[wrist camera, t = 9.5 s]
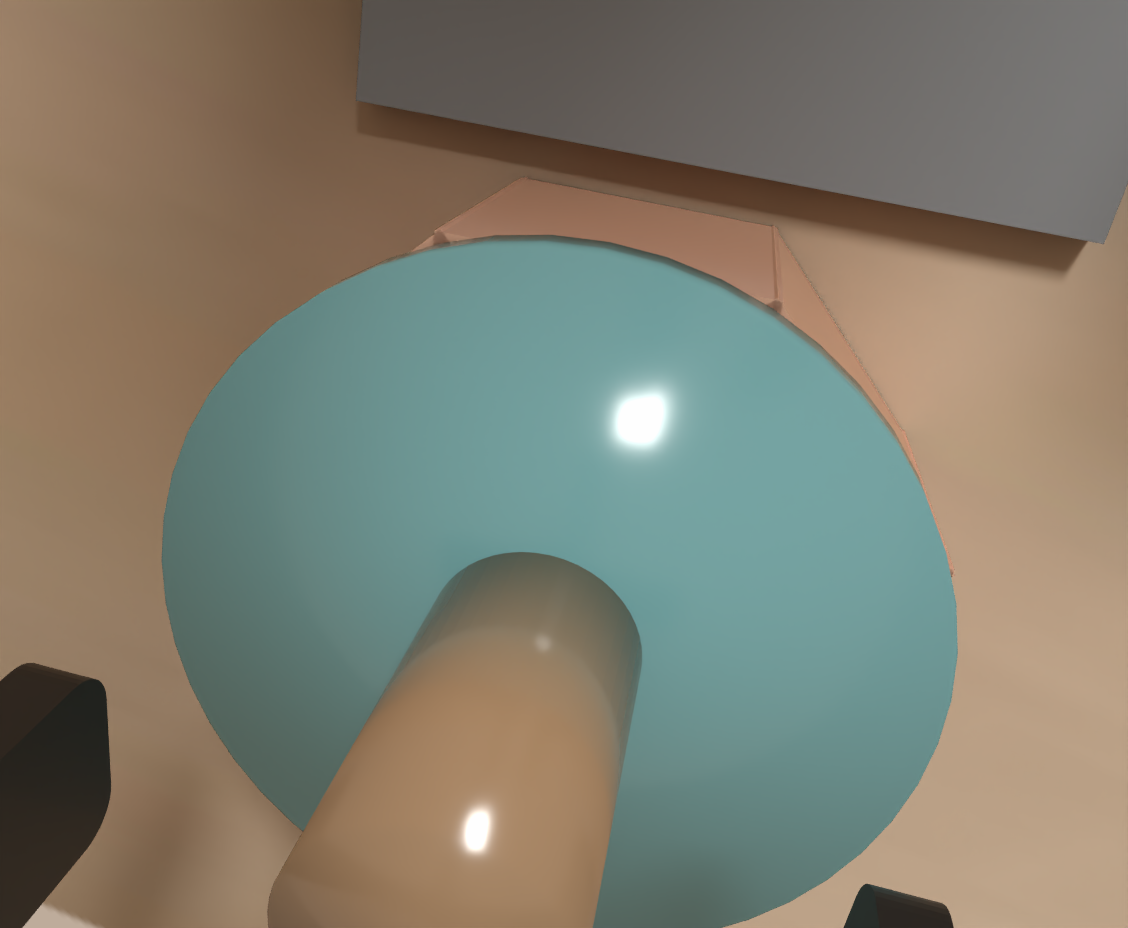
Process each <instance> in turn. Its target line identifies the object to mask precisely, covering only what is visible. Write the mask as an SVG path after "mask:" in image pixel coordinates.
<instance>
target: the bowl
mask: <svg viewBox="0 0 1128 928" xmlns="http://www.w3.org/2000/svg"><path fill="white" fill-rule="evenodd" d="M493 235H558V236H566V237H574V238H582V239H590V240H598V241H606V242H612V243H616V244H620V245H623V246H627V247H631V248H635V249H639V250H642V251H646V252H650V253H654V254H658V255H661V256H665V257H668V258H671V259H673V260H676V261H678V262H681V263H683V264H686V265H688V266H690V267H693V268H695V269H698V270H700V271H703V272H705V273H708V274H710V275H712V276H715V277H717V278H720V279H722V280H724V281H726V282H727V283H729V284H731V285H733V286H734V287H736V288H738V289H740V290H741V291H743V292H745V293H747V294H748V295H750V296H752V297H754V298H755V299H757V300H759V301H761V302H762V303H764V304H766V305H768V306H769V307H771V308H773V309H774V310H776V311H777V312H778V313H780V314H781V315H782V316H784V317H785V318H786V319H788V320H789V321H790V322H791V323H793V324H794V325H795V326H797V327H798V328H799V329H801V330H802V331H803V332H805V333H806V334H807V335H808V336H810V337H811V338H812V339H814V340H815V341H816V342H818V343H819V344H820V345H821V346H822V347H823V348H824V349H825V350H826V351H827V352H828V353H829V354H830V355H831V356H832V357H833V358H834V359H835V360H836V361H837V362H838V363H839V364H840V365H841V366H842V367H843V368H844V369H845V370H846V371H847V372H848V373H849V374H850V375H851V376H852V377H853V378H854V379H855V380H856V381H857V382H858V383H859V384H860V385H861V387H862V388H863V389H864V391H865V392H866V393H867V395H868V396H869V397H870V399H871V400H872V401H873V403H874V404H875V405H876V407H877V408H878V409H879V411H880V412H881V413H882V415H883V416H884V417H885V419H886V420H887V421H888V423H889V424H890V425H891V427H892V428H893V430H894V431H895V433H896V435H897V437H898V439H899V441H900V442H901V444H902V446H903V448H904V450H905V452H906V454H907V455H908V457H909V459H910V461H911V463H912V465H913V466H914V468H915V470H916V472H917V474H918V476H919V478H920V481H921V484H922V487H923V489H924V492H925V495H926V498H927V500H928V503H929V506H930V509H931V512H932V514H933V517H934V520H935V523H936V525H937V528H938V531H939V534H940V537H941V540H942V542H943V545H944V548H945V551H946V554H947V559H948V564H949V569H950V574H951V577H953V576H955V574H954V567H953V565H952V562H951V559H950V556H949V554H948V551H947V548H946V545H945V542H944V540H943V537H942V534H941V531H940V528H939V526H938V523H937V520H936V517H935V514H934V512H933V509H932V506H931V503H930V501H929V498H928V495H927V492H926V489H925V487H924V484H923V481H922V478H921V475H920V473H919V470H918V467H917V464H916V461H915V459H914V456H913V453H912V450H911V448H910V445H909V442H908V439H907V436H906V434H905V431H904V430H902V429H901V428H900V426H899V425H898V423H897V421H896V420H895V418H894V417H893V415H892V413H891V412H890V410H889V409H888V407H887V405H886V404H885V402H884V401H883V399H882V397H881V396H880V394H879V393H878V391H877V389H876V388H875V386H874V385H873V383H872V381H871V380H870V378H869V377H868V375H867V374H866V372H865V370H864V369H863V367H862V366H861V364H860V362H859V361H858V359H857V358H856V356H855V354H854V353H853V351H852V350H851V348H850V346H849V345H848V343H847V342H846V340H845V338H844V337H843V335H842V334H841V332H840V330H839V329H838V327H837V326H836V324H835V322H834V321H833V319H832V318H831V316H830V314H829V313H828V311H827V310H826V308H825V306H824V305H823V303H822V302H821V300H820V298H819V297H818V295H817V294H816V292H815V290H814V289H813V287H812V286H811V284H810V282H809V281H808V279H807V278H806V276H805V274H804V273H803V271H802V270H801V268H800V266H799V265H798V263H797V262H796V260H795V258H794V257H793V255H792V254H791V252H790V250H789V249H788V247H787V246H786V244H785V242H784V241H783V239H782V238H781V236H780V234H779V233H778V228H776V227H775V226H774V225H773V226H766V225H761V224H756V223H751V222H746V221H741V220H736V219H731V218H725V217H720V216H715V215H710V214H705V213H700V212H695V211H690V210H685V209H680V208H675V207H670V206H664V205H659V204H654V203H649V202H644V201H639V200H634V199H629V198H624V197H619V196H614V195H608V194H603V193H598V192H593V191H588V190H583V189H578V188H573V187H568V186H563V185H558V184H553V183H547V182H542V181H537V180H532V179H528V178H527V176H526V177H525V178H520V179H518V180H517V181H515V182H513V183H512V184H510V185H508V186H507V187H505V188H503V189H502V190H500V191H498V192H497V193H495V194H494V195H492V196H490V197H489V198H487V199H485V200H484V201H482V202H480V203H479V204H477V205H475V206H474V207H472V208H470V209H469V210H467V211H465V212H464V213H462V214H461V215H459V216H457V217H456V218H454V219H452V220H451V221H449V222H447V223H446V224H444V225H442V226H441V227H439V228H437V229H436V230H434V234H433V235H432V236H431V237H429V238H428V239H427V240H425V241H424V242H423V243H421V244H420V245H419V246H417V247H416V248H415V249H413V250H412V251H416V250H419V249H423V248H426V247H429V246H433V245H436V244H439V243H446V242H452V241H459V240H466V239H473V238H479V237H486V236H493ZM412 251H411V252H412Z"/></svg>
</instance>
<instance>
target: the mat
mask: <svg viewBox="0 0 1128 928" xmlns="http://www.w3.org/2000/svg"><path fill="white" fill-rule="evenodd" d="M356 101H361V102H366V103H372V104H377V105H382V106H387V107H392V108H398V109H403V110H408V111H413V112H418V113H424V114H429V115H434V116H439V117H444V118H450V119H455V120H460V121H465V122H471V123H476V124H481V125H486V126H491V127H497V128H502V129H507V130H512V131H517V132H523V133H528V134H533V135H538V136H543V137H549V138H554V139H559V140H564V141H569V142H575V143H580V144H585V145H590V146H595V147H601V148H606V149H611V150H616V151H622V152H627V153H632V154H637V155H642V156H648V157H653V158H658V159H663V160H668V161H674V162H679V163H684V164H689V165H694V166H700V167H705V168H710V169H715V170H720V171H726V172H731V173H736V174H741V175H747V176H752V177H757V178H762V179H767V180H773V181H778V182H783V183H788V184H793V185H799V186H804V187H809V188H814V189H819V190H825V191H830V192H835V193H840V194H845V195H851V196H856V197H861V198H866V199H872V200H877V201H882V202H887V203H892V204H898V205H903V206H908V207H913V208H918V209H924V210H929V211H934V212H939V213H944V214H950V215H955V216H960V217H965V218H970V219H976V220H981V221H986V222H991V223H996V224H1002V225H1007V226H1012V227H1017V228H1023V229H1028V230H1033V231H1038V232H1043V233H1049V234H1054V235H1059V236H1064V237H1069V238H1075V239H1080V240H1085V241H1090V242H1095V243H1101V244H1104V242H1105V240H1106V237H1107V235H1108V232H1109V230H1110V227H1111V225H1112V222H1113V219H1114V217H1115V214H1116V212H1117V209H1118V207H1119V204H1120V202H1121V199H1122V197H1123V194H1124V191H1125V189H1126V186H1127V184H1128V0H363V1H362V16H361V31H360V46H359V61H358V76H357V91H356Z"/></svg>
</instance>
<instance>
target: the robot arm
mask: <svg viewBox="0 0 1128 928" xmlns="http://www.w3.org/2000/svg"><path fill="white" fill-rule="evenodd" d="M110 793H111V774H110V755H109V736H108V718H107V699H106V691H105V688H104V686H103V684H102V683H101V682H100V681H99V680H96V679H92V678H89V677H85V676H81V675H77V674H73V673H69V672H66V671H62V670H58V669H54V668H50V667H46V666H43V665H39V664H35V663H26V664H23V665H21V666H19V667H17V668H16V669H14V670H13V671H12V672H10V673H9V674H8V675H7V676H6V677H4V678H3V679H2V680H1V681H0V928H22V927H23V926H24V925H25V923H26V922H27V921H28V920H29V919H30V918H31V916H32V915H33V914H34V913H35V911H36V910H37V909H38V908H39V907H40V905H41V904H42V903H43V902H44V901H45V899H46V898H47V897H48V896H49V894H50V893H51V892H52V891H53V890H54V888H55V887H56V886H57V885H58V883H59V882H60V881H61V880H62V879H63V877H64V876H65V875H66V874H67V873H68V871H69V870H70V869H71V868H72V866H73V865H74V864H75V863H76V862H77V860H78V859H79V858H80V857H81V855H82V854H83V853H84V852H85V851H86V849H87V848H88V847H89V845H90V844H91V842H92V841H93V839H94V837H95V836H96V834H97V832H98V830H99V828H100V826H101V824H102V822H103V819H104V817H105V814H106V811H107V808H108V804H109V800H110ZM844 928H954V927H953V923H952V919H951V915H950V913H949V910H948V909H947V907H946V906H945V905H944V904H943V903H939V902H935V901H931V900H927V899H924V898H920V897H916V896H912V895H908V894H905V893H901V892H897V891H893V890H889V889H885V888H882V887H878V886H874V885H870V884H865V885H863V886H862V887H861V889H860V890H859V892H858V894H857V896H856V899H855V901H854V903H853V906H852V908H851V911H850V913H849V916H848V918H847V921H846V923H845V926H844Z"/></svg>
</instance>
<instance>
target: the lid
mask: <svg viewBox="0 0 1128 928" xmlns="http://www.w3.org/2000/svg"><path fill="white" fill-rule="evenodd" d="M162 568H163V579H164V589H165V600H166V606H167V610H168V615H169V619H170V623H171V627H172V632H173V636H174V640H175V645H176V647H177V650H178V653H179V655H180V658H181V661H182V663H183V666H184V669H185V672H186V674H187V677H188V680H189V682H190V685H191V687H192V689H193V691H194V693H195V695H196V697H197V699H198V701H199V703H200V704H201V706H202V708H203V710H204V712H205V714H206V716H207V718H208V720H209V722H210V724H211V725H212V727H213V728H214V730H215V731H216V733H217V734H218V736H219V737H220V739H221V740H222V742H223V743H224V745H225V746H226V748H227V749H228V751H229V752H230V754H231V755H232V757H233V758H234V760H235V761H236V762H237V763H238V765H239V766H240V767H241V768H242V769H243V771H244V772H245V773H246V774H247V775H248V777H249V778H250V779H251V780H252V781H253V783H254V784H255V785H256V786H257V788H258V789H259V790H260V791H261V792H262V793H263V794H264V795H265V796H266V797H267V798H268V799H269V800H270V801H271V802H272V803H273V804H274V805H275V806H276V807H277V808H278V809H279V810H280V811H281V812H282V813H283V814H284V815H285V816H286V817H287V818H288V819H289V820H290V821H291V822H292V823H293V824H294V825H296V826H297V827H298V828H299V829H301V830H302V831H303V833H302V834H301V836H300V838H299V840H298V841H297V843H296V845H295V847H294V848H293V850H292V852H291V854H290V855H289V857H288V859H287V861H286V862H285V864H284V866H283V867H282V869H281V871H280V873H279V875H278V876H277V878H276V880H275V882H274V884H273V887H272V890H271V893H270V896H269V903H268V911H267V912H268V928H722V927H726V926H729V925H732V924H736V923H739V922H742V921H746V920H749V919H751V918H754V917H756V916H758V915H761V914H763V913H765V912H768V911H770V910H772V909H775V908H777V907H779V906H782V905H784V904H786V903H789V902H790V901H792V900H794V899H796V898H797V897H799V896H801V895H802V894H804V893H806V892H807V891H809V890H811V889H813V888H814V887H816V886H818V885H819V884H821V883H823V882H824V881H826V880H828V879H829V878H830V877H831V876H833V875H834V874H835V873H837V872H838V871H839V870H840V869H842V868H843V867H844V866H846V865H847V864H848V863H849V862H851V861H852V860H853V859H854V858H856V857H857V856H858V855H860V854H861V853H862V852H863V851H864V850H865V849H866V848H867V847H868V846H869V845H870V844H871V843H872V842H873V840H874V839H875V838H876V837H877V836H878V835H879V834H880V833H881V832H882V831H883V830H884V829H885V828H886V827H887V826H888V825H889V824H890V823H891V822H892V821H893V819H894V818H895V816H896V815H897V813H898V812H899V811H900V809H901V808H902V806H903V805H904V804H905V802H906V801H907V799H908V798H909V796H910V795H911V794H912V792H913V791H914V789H915V788H916V787H917V785H918V783H919V781H920V779H921V777H922V775H923V773H924V771H925V769H926V767H927V765H928V763H929V761H930V759H931V757H932V755H933V753H934V751H935V749H936V747H937V745H938V742H939V739H940V735H941V732H942V729H943V726H944V722H945V719H946V716H947V713H948V709H949V706H950V703H951V698H952V691H953V684H954V676H955V669H956V662H957V654H958V649H957V615H956V600H955V595H954V590H953V585H952V580H951V574H950V569H949V564H948V559H947V554H946V551H945V548H944V545H943V542H942V540H941V537H940V534H939V531H938V528H937V525H936V523H935V520H934V517H933V514H932V512H931V509H930V506H929V503H928V500H927V498H926V495H925V492H924V489H923V487H922V484H921V481H920V478H919V476H918V474H917V472H916V470H915V468H914V466H913V465H912V463H911V461H910V459H909V457H908V455H907V454H906V452H905V450H904V448H903V446H902V444H901V442H900V441H899V439H898V437H897V435H896V433H895V431H894V430H893V428H892V427H891V425H890V424H889V423H888V421H887V420H886V419H885V417H884V416H883V415H882V413H881V412H880V411H879V409H878V408H877V407H876V405H875V404H874V403H873V401H872V400H871V399H870V397H869V396H868V395H867V393H866V392H865V391H864V389H863V388H862V387H861V385H860V384H859V383H858V382H857V381H856V380H855V379H854V378H853V377H852V376H851V375H850V374H849V373H848V372H847V371H846V370H845V369H844V368H843V367H842V366H841V365H840V364H839V363H838V362H837V361H836V360H835V359H834V358H833V357H832V356H831V355H830V354H829V353H828V352H827V351H826V350H825V349H824V348H823V347H822V346H821V345H820V344H819V343H818V342H816V341H815V340H814V339H812V338H811V337H810V336H808V335H807V334H806V333H805V332H803V331H802V330H801V329H799V328H798V327H797V326H795V325H794V324H793V323H791V322H790V321H789V320H788V319H786V318H785V317H784V316H782V315H781V314H780V313H778V312H777V311H776V310H774V309H773V308H771V307H769V306H768V305H766V304H764V303H762V302H761V301H759V300H757V299H755V298H754V297H752V296H750V295H748V294H747V293H745V292H743V291H741V290H740V289H738V288H736V287H734V286H733V285H731V284H729V283H727V282H726V281H724V280H722V279H720V278H717V277H715V276H712V275H710V274H708V273H705V272H703V271H700V270H698V269H695V268H693V267H690V266H688V265H686V264H683V263H681V262H678V261H676V260H673V259H671V258H668V257H665V256H661V255H658V254H654V253H650V252H646V251H642V250H639V249H635V248H631V247H627V246H623V245H620V244H616V243H612V242H606V241H598V240H590V239H582V238H574V237H566V236H558V235H493V236H486V237H479V238H473V239H466V240H459V241H452V242H446V243H439V244H436V245H433V246H429V247H426V248H423V249H419V250H416V251H412V252H409V253H406V254H402V255H399V256H396V257H392V258H389V259H387V260H385V261H382V262H380V263H378V264H376V265H374V266H372V267H370V268H367V269H365V270H363V271H361V272H359V273H357V274H354V275H352V276H350V277H348V278H346V279H344V280H342V281H340V282H338V283H337V284H335V285H333V286H332V287H330V288H328V289H327V290H325V291H323V292H322V293H320V294H318V295H317V296H315V297H314V298H312V299H311V300H309V301H308V302H306V303H305V304H303V305H302V306H300V307H298V308H297V309H295V310H294V311H292V312H291V313H289V314H288V315H286V316H285V317H283V318H282V319H280V320H279V321H277V322H276V323H275V324H273V325H272V326H271V327H270V328H269V329H268V330H267V331H266V332H265V333H264V334H263V335H261V336H260V337H259V338H258V339H257V340H256V341H255V342H254V343H253V344H252V345H251V346H249V347H248V348H247V349H246V350H245V351H244V352H243V353H242V354H241V355H240V356H239V357H238V358H237V359H236V361H235V362H234V363H233V364H232V366H231V367H230V368H229V369H228V371H227V372H226V373H225V374H224V376H223V377H222V378H221V379H220V381H219V382H218V383H217V384H216V386H215V387H214V388H213V390H212V391H211V392H210V393H209V395H208V397H207V399H206V401H205V402H204V404H203V406H202V408H201V410H200V411H199V413H198V415H197V417H196V418H195V420H194V422H193V424H192V426H191V427H190V429H189V431H188V433H187V436H186V438H185V441H184V444H183V447H182V449H181V452H180V455H179V457H178V460H177V463H176V466H175V468H174V471H173V474H172V478H171V483H170V488H169V493H168V498H167V503H166V508H165V513H164V523H163V544H162Z"/></svg>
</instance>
